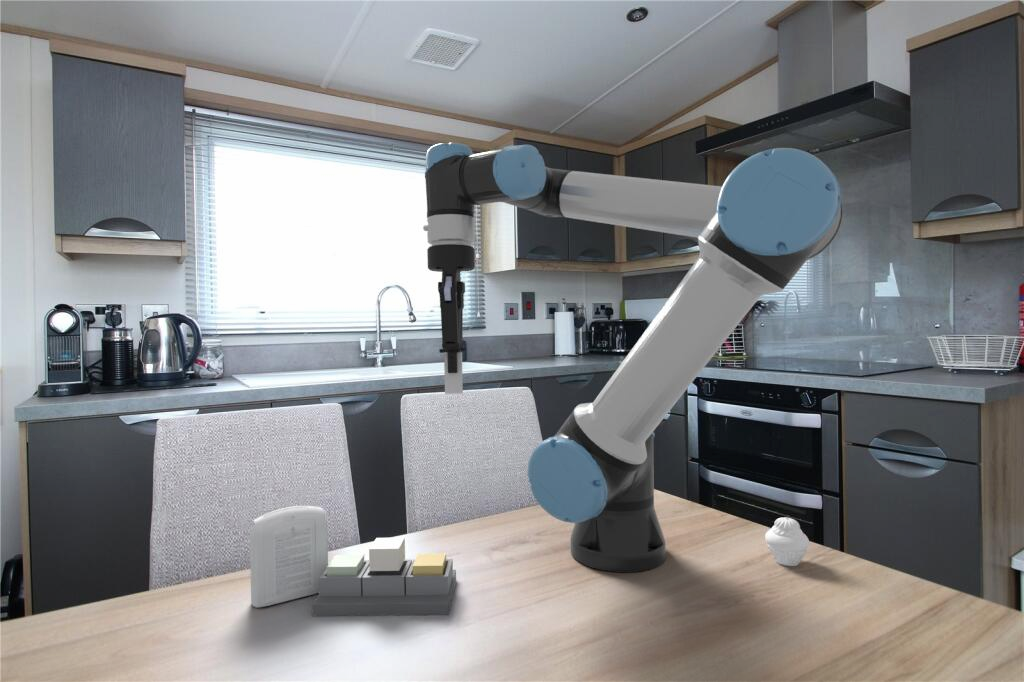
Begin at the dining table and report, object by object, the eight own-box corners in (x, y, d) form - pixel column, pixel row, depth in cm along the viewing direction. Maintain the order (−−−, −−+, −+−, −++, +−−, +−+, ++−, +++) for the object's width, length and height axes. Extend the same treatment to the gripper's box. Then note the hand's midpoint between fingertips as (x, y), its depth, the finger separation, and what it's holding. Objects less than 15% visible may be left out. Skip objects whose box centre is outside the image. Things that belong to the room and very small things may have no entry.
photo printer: (324, 580, 85) (322, 497, 84) (332, 591, 81) (330, 505, 81) (248, 599, 79) (245, 511, 79) (254, 612, 75) (251, 519, 75)
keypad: (456, 579, 84) (455, 552, 84) (447, 614, 74) (447, 584, 74) (336, 581, 84) (335, 554, 84) (312, 616, 74) (311, 585, 74)
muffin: (795, 553, 91) (796, 510, 91) (817, 570, 85) (817, 523, 85) (757, 554, 91) (757, 511, 91) (776, 571, 85) (776, 524, 85)
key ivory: (405, 558, 81) (404, 537, 81) (399, 570, 77) (398, 548, 77) (376, 558, 81) (376, 537, 81) (369, 571, 77) (369, 549, 77)
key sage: (364, 575, 81) (364, 554, 81) (356, 588, 77) (356, 566, 77) (336, 575, 81) (335, 554, 81) (327, 588, 77) (326, 566, 77)
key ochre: (446, 574, 81) (446, 553, 81) (442, 587, 77) (442, 565, 77) (418, 574, 81) (417, 553, 81) (413, 587, 77) (412, 565, 77)
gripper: (433, 251, 98) (436, 388, 99) (420, 240, 85) (424, 398, 86) (477, 250, 98) (479, 388, 99) (471, 239, 85) (474, 398, 86)
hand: (453, 392), depth 92 cm, fingers closed
